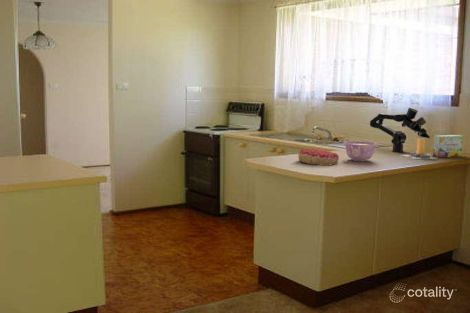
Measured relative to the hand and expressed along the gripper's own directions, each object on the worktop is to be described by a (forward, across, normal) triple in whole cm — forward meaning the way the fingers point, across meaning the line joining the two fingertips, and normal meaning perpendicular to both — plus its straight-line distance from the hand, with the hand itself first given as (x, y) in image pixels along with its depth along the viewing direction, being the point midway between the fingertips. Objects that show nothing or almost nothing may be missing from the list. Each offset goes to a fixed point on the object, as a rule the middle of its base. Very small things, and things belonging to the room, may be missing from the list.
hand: (427, 135), depth 362 cm
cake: (-7, -70, +57) cm, 91 cm away
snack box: (+14, +16, +3) cm, 21 cm away
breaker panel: (+8, -3, +16) cm, 18 cm away
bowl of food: (0, -45, +41) cm, 61 cm away
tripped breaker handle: (+8, -5, +13) cm, 16 cm away
